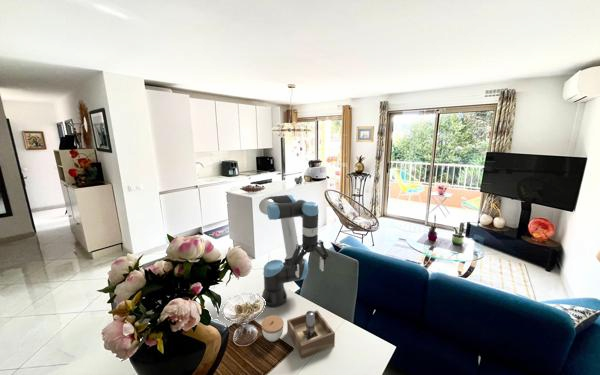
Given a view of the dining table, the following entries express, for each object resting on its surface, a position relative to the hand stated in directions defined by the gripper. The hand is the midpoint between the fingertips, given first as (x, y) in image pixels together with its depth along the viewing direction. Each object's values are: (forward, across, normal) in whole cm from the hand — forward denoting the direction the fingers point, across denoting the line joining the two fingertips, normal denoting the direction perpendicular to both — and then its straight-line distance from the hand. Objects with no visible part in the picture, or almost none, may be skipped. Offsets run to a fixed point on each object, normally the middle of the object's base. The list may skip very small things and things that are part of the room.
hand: (309, 272), depth 126 cm
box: (+28, -5, -11) cm, 31 cm away
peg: (+28, -4, -11) cm, 31 cm away
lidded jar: (+29, -21, -2) cm, 36 cm away
